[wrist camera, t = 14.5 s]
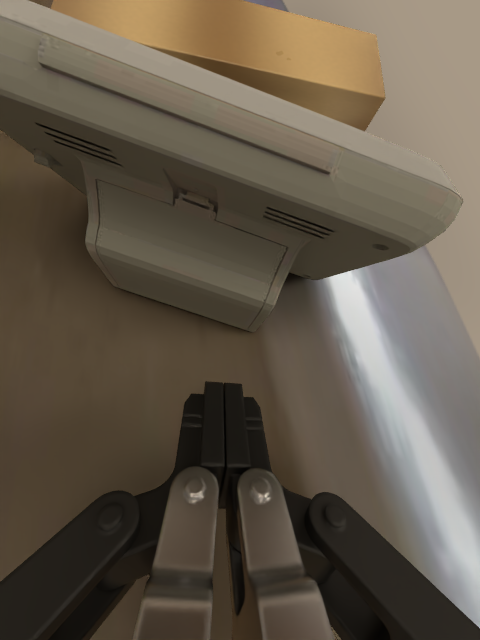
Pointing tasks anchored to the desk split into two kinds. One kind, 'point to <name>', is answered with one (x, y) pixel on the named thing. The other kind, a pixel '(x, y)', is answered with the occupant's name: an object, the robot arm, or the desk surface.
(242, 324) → the digital clock
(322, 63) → the maple block
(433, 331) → the desk surface
